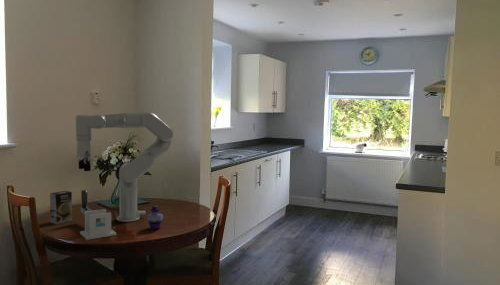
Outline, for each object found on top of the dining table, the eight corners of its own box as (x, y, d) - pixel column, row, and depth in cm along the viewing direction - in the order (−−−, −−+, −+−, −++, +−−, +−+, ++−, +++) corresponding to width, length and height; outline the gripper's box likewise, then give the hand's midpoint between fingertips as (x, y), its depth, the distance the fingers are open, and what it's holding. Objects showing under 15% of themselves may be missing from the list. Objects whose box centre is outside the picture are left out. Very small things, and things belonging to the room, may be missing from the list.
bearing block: (108, 228, 208) (108, 207, 207) (116, 234, 198) (116, 212, 197) (79, 233, 199) (79, 211, 199) (86, 239, 190) (86, 216, 189)
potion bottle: (156, 225, 216) (156, 203, 215) (166, 228, 211) (167, 205, 210) (142, 228, 209) (142, 205, 208) (153, 232, 204) (153, 208, 203)
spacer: (102, 222, 201) (104, 224, 198) (102, 230, 202) (105, 232, 198) (90, 224, 198) (93, 226, 195) (91, 232, 198) (93, 234, 195)
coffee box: (57, 224, 214) (56, 194, 212) (49, 222, 217) (49, 192, 216) (72, 220, 221) (72, 191, 220) (65, 218, 225) (64, 190, 224)
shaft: (86, 211, 220) (86, 189, 219) (98, 220, 203) (98, 197, 202) (81, 212, 218) (80, 190, 217) (92, 221, 201) (92, 197, 200)
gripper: (72, 137, 221) (72, 168, 222) (81, 139, 207) (82, 172, 209) (86, 137, 226) (87, 167, 227) (96, 138, 212) (96, 171, 213)
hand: (84, 169), depth 218 cm, fingers open, 9 cm apart
